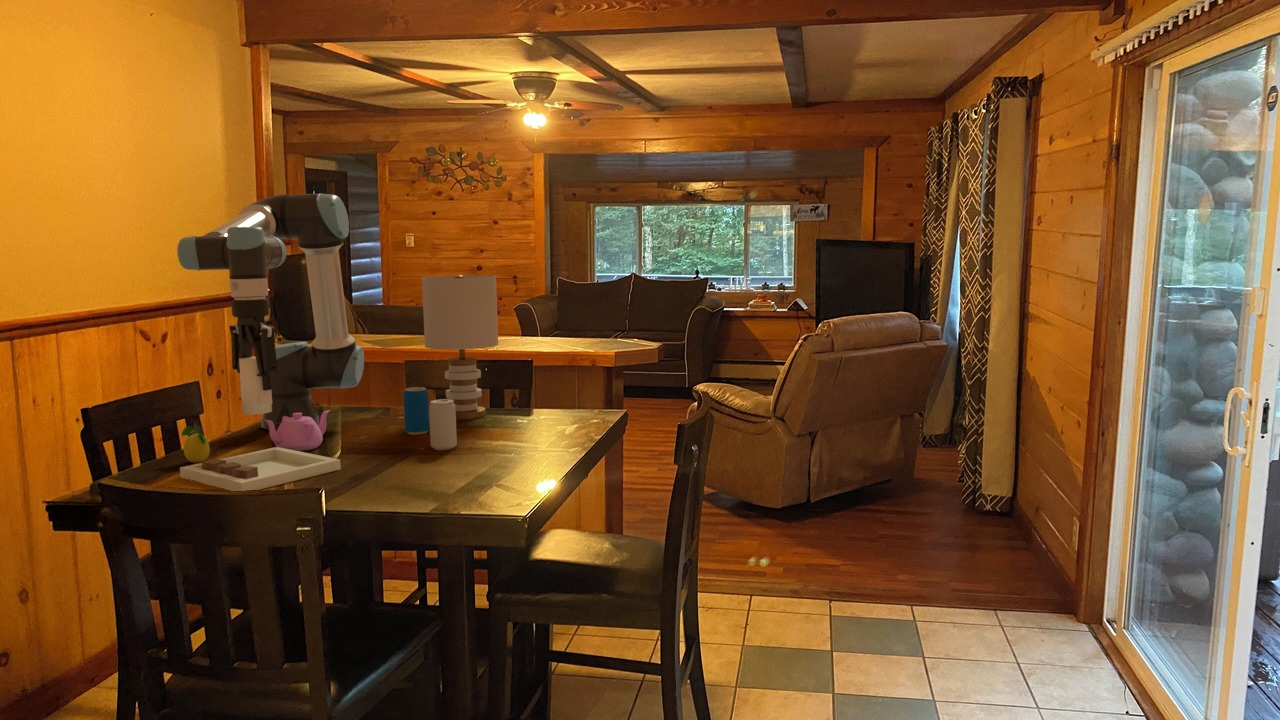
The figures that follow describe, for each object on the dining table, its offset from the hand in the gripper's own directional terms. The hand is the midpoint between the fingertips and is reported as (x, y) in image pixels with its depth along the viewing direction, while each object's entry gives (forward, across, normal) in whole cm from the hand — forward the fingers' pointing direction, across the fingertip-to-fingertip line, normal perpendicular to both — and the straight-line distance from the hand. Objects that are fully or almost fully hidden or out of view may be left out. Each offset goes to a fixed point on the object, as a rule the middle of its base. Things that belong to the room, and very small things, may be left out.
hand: (256, 403), depth 212 cm
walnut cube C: (+16, +6, -8) cm, 18 cm away
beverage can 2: (+17, +13, +42) cm, 47 cm away
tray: (+17, 0, 0) cm, 17 cm away
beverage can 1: (+17, -7, +51) cm, 54 cm away
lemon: (+17, -23, -2) cm, 29 cm away
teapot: (+17, -19, +23) cm, 34 cm away
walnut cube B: (+16, 0, -8) cm, 17 cm away
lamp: (+17, -14, +75) cm, 78 cm away
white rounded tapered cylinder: (+2, 0, 0) cm, 2 cm away
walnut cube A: (+16, -6, -8) cm, 18 cm away
